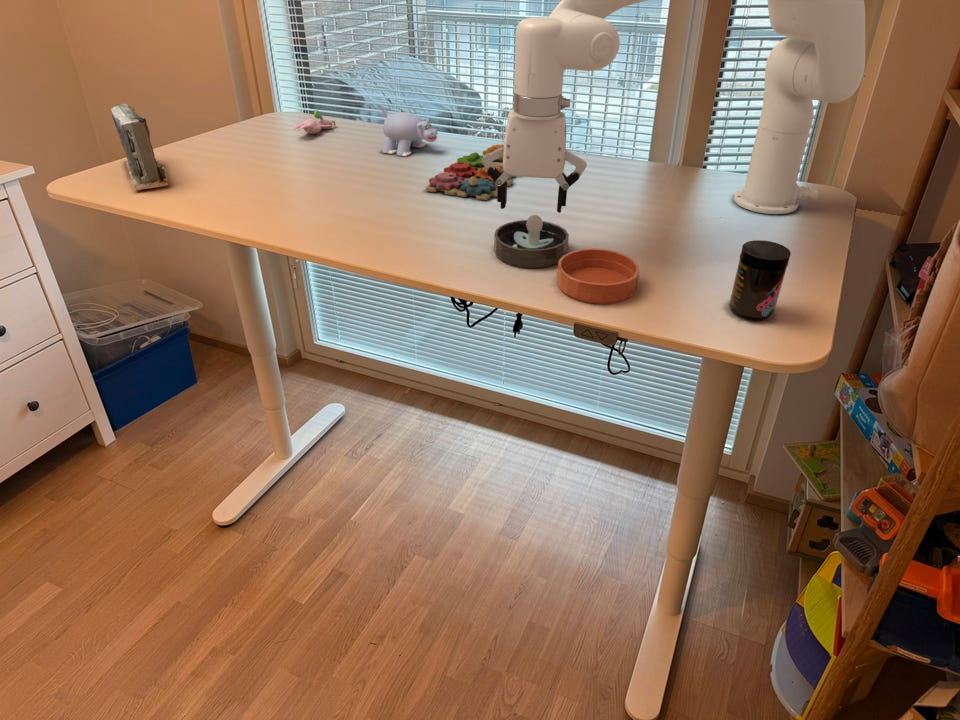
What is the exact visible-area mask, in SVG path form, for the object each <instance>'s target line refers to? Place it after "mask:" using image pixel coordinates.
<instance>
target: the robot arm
mask: <svg viewBox="0 0 960 720" xmlns="http://www.w3.org/2000/svg"><path fill="white" fill-rule="evenodd" d="M647 1H648V0H561V1H559V3H558V4H557V5H556V6H555V8H554V9H553V10H552V11H551V12H550V14H549V15H548V17H547V16H534V17H533V16H532V17H527V18H524V19H521V21H519V23H518V24H517V27H516V33H515V35H516V36H515V56H514V57H515V58H514V60H515V61H514V81H513V82H514V86H513V107H512V109H510V110H509V112H508V116H507V119H506V127H505V134H504V143H503V145H504V146H503V147H501V148H499V149H497V150H495V151H492V152H490V153H488V154H486V155H483V158H482V162H483V164H484V166H485V168H486V170H487V173H488V175H489V176H490V177H491V178H492V179H493V180H494V181H495V182H496V185H497V186H498V189H497V197H496V201H497V203H500V209H501V210H504V209H506V207H507V202H508V201H507V200H508V186H507V182H506V180H507V179H508V178H509V177H510V176H513V177H517V178H519V177H520V178H533V179H535V178H537V179H554V180H555V181H556V182H557V184H558V185H559V186H558V191H557V205H556V212H557V213H559V214H561V213H562V207H566V206H567V196H568V190H569V189H570V187H572V186H573V185H574V184H575V183H576V182H577V181H579V179H580V177H581V176H582V175H583V173H584V171H585V170H586V168H587V161H586V160H585V159H583V158H581V157H579V156H578V155H576V154H574V153H572V152H571V151H569V150H567V120H566V113H565V112H563V109H566V108H567V109H570V108H571V100H572V99H571V98H567V97H565V95H563V83H564V73H565V71H566V70H572V71H585V72H596V71H600V70H602V69H604V68H606V67H608V66H609V65H611V63H612V62H614V60H615V59H616V57H617V55H618V53H619V50H620V44H621V41H620V35H619V32H618V29H616V27H615V26H614V25H613V23H611V22H609V21H608V20H607V19H605V18H607V17H609V16H610V15H612V14H614V13H615V12H617V11H619V10H620V9H623V8H626V7H628V6H633V5H635V4H639V3H643V2H647ZM767 9H768V10H767V11H768V19H769V23H770V26H771V28H772V30H773V31H774V32H775V33H776V34H778V35H781V36H783V37H786V38H784V39H782V40H780V41H778V42H777V44H775V45H774V46H773V48H772V49H771V51H770V52H769V53H768V56H767V59H766V63H765V69H764V91H763V100H762V107H761V111H760V117H759V121H758V125H757V129H756V133H755V138H754V143H753V147H752V152H751V157H750V159H749V165H748V169H747V174H746V178H745V183H744V187H743V188H741V189H739V190H737V191H736V192H735V193H734V196H733V200H734V203H735V204H736V205H738V206H739V207H741V208H743V209H745V210H749V211H751V212H755V213H760V214H765V215H785V214H791V213H793V212H795V211H797V209H798V208H799V205H800V201H801V200H802V199H807V200H818V198H819V197H820V190H819V189H813V188H812V189H810V186H807V185H806V186H805V185H802V186H800V185H798V183H797V181H798V178H799V174H800V170H801V167H802V162H803V158H804V154H805V151H806V147H807V143H808V140H809V136H810V132H811V129H812V125H813V121H814V103H813V100H815V101H818V102H823V103H827V104H838V103H842V102H845V101H847V100H848V99H850V98H851V97H852V96H853V95H854V94H855V93H856V92H857V91H858V89H859V87H860V85H861V83H862V81H863V77H864V72H865V67H866V4H865V1H864V0H767ZM501 157H503V160H502V163H503V170H502V172H501V173H500V172H499V171H498V170H497V169H496V168H495V167H494V165H493V162H495V161H497V160H498V159H499V158H501ZM566 162H567V163H569V164H570V165H572V166H574V167H575V168H574V170H573V171H572V172H571V173H569V175H567V174H566V173H565V172H564V169H565V165H566Z"/></svg>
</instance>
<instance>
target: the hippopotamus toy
mask: <svg viewBox="0 0 960 720" xmlns="http://www.w3.org/2000/svg"><path fill="white" fill-rule="evenodd" d="M379 110H382V111H381V112H382V113H383V115H384V117H385V119H384V122H383V126H382V131H383V134H384V139H383V144H382V151H381V152H382V153H383V154H389V155H390V154H391V155H394V154H396V155H397V156H400V157H408V156H410V155H411V154H412V153H413V152H412V151H411V150H410V149H411V147H413V148H417V149H419V148H424V147H425V146H426V145H427V143H426V142H429V143H434V142H436V141H437V139H438V136H437V135H438V134H439V133H438V129H437V128H433V127H432V124H431V123H430V119H429V118H428V119H426V120H422V119H421V118H420V117H419V116H418V115H416V114H414V113H411V112H405V111H401V112H399V111H398V112H394V113H393V112H392V113H389V112H388V110H386V109H385V108H384V107H379ZM423 140H425V141H426V142H423ZM396 145H397V148H396Z"/></svg>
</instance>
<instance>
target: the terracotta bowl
mask: <svg viewBox="0 0 960 720" xmlns="http://www.w3.org/2000/svg"><path fill="white" fill-rule="evenodd" d="M640 270H641V269H640V265H639V264H638V263H637V261H636V260H635V259H633V258H631V257H630V256H628V255H627V254H624V253H621V252H619V251H615V250H611V249H606V248H605V249H603V248H583V249H582V248H581V249H577V250H573V251H569V252H567V254H566V255H564V256H562V258H561V259H560V260H559V261H558V264H557V273H556V274H557V275H556V284H557V286H558V288H559V289H560V290H561V291H562V293H564V294H565V295H566V296H567V297H570V298H571V299H574V300H577V301H580V302H584V303H589V304H596V305H605V304H607V305H608V304H616V303H620V302H623V301H625V300H627V299H629V298H630V297H631V296H633V295H634V294H635V293H636V291H637V290H638V285H639V279H640V273H641V271H640Z"/></svg>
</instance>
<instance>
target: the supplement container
mask: <svg viewBox="0 0 960 720" xmlns="http://www.w3.org/2000/svg"><path fill="white" fill-rule="evenodd" d="M791 254H792V252H791V250H790V249H789V248H787V246H784V245H783V244H781V243H778V242H775V241H769V240H762V239H761V240H759V239H756V240H749V241H746V242H745V243H743V244H742V246H741V251H740V254H739V259H738V264H737V269H736V272H735V277H734V280H733V281H734V282H733V286H732V291H731V294H730V299H729V303H728V307H729V310H730V311H731V313H732V314H733V315H734V316H735V317H738V318H740V319H742V320H745V321H751V322H763V321H767V320H769V319H771V318H772V317H773V315H774V314H775V310H776V308H777V304H778V300H779V297H780V294H781V289H782V286H783V283H784V279H785V275H786V272H787V268H788V266H789V263H790V258H791V256H792V255H791Z"/></svg>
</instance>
